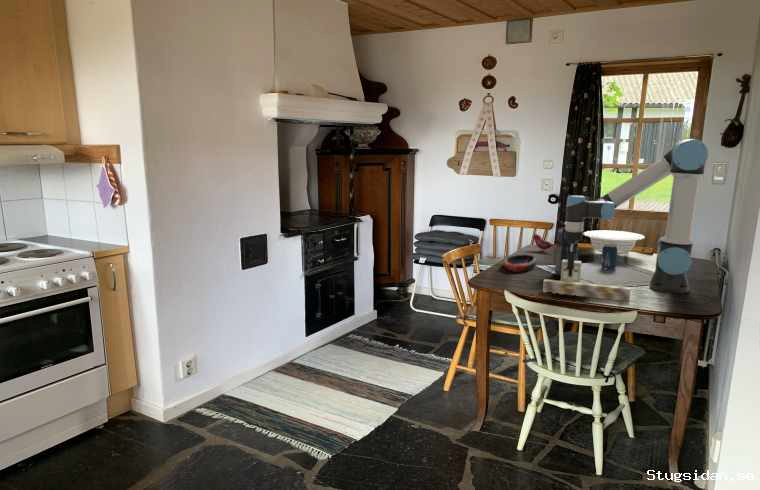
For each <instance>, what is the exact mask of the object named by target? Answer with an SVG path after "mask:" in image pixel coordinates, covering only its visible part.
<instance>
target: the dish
mask: <svg viewBox="0 0 760 490" xmlns="http://www.w3.org/2000/svg"><path fill="white" fill-rule="evenodd" d="M536 262H537V256H536V255H533V254H527V253H525V254H524V253H521V254H514V255H510V256H507V257H504V259H503V260H502V265H503V266H504V268H505V269H506V270H508V271H510V272H514V273H520V272H525V271H528V270H531V269H532V268H533V267H534V266H535V265H536Z"/></svg>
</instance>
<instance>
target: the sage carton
mask: <svg viewBox="0 0 760 490" xmlns="http://www.w3.org/2000/svg"><path fill="white" fill-rule="evenodd" d="M567 266H568V260H562V266H561V275H560V281H567V269H566V268H567ZM581 275H582V261H581V260H578V261H575V260H574V276H573V282H577V283H581Z"/></svg>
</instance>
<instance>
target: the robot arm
mask: <svg viewBox="0 0 760 490" xmlns="http://www.w3.org/2000/svg"><path fill="white" fill-rule="evenodd" d="M708 157H709V150H708V148H707V146H706V145H705V143H704V142H702V141H701V140H700V139H697V138H686V139H683V140H681V141H679V142H678V143H676V144H675V145H674V146H673V147H671V149H669V150H668V151H667V152H665V153H663V154H662V155H661V157H660V159H659V160H657V161H656V162H654V163H652V165H650V166H648V167H646V168H644V169H643V170H642V171H640V172H638V173H637V174H635V175H634V176H632V177H631V178H629V179H628V180H626V181H624V182H623V183H621V184H620V185H618V186H617V187H615V188H614V189H612V190H611V191H609V192H607V193H606V194H604V195H603V196H601V197H599V198H597V199H596V200H587V199H586V196H584V195H574V194H573V195H569V196H567V199H566V205H565V208H566V209H565V222H564V223H563V225H565V226H564V227H565V229H566V231H565V236H564V238H565V239H566V240H570V243H568V266H567V268H566V269H567V282H573V276H574V260H575V261H576V252H577V247H578V245H579V244H578V243H579V242H580V241H582V240H583V236H584V235H583V233H584V232H583V231H584V223H585V222H584V220H585V219H594V220H595V219H596V220H597V219H599V220H604V221H605V220H612V219H614V217H615V209H617V208H619V207H620V206H622V205H623V204H625V203H626V202H628V201H630V200H631V199H632V198H635V197H636V196H638V195H639V194H642V192H645V191H646V190H647V189H649V188H651V187H653V186H654V185H656V184H657V183H659V182H661V181H662V180H664V179H666V178H667V177H668V176H670V175H671V176H672V177H673V180H672V187H671V193H670V202H669V208H668V214H667V215H668V216H667V223H666V227H665V228H666V229H665V235H664V236H661V237H659V238H658V242H657V250H656V251H657V252H656V259H655V260H656V261H655V270H654V273H653V275H652V277H651V278H650V281H649V286H648V287H649V289H652V290H653V291H657V292H661V293H668V294H686V293H688V292H689V288H690V287H689V286H690V285H689V281H688V279H687V274H686V272H688V270H689V269H690V267H691V266H692V263H693V262H692V261H693V260H692V251H693V245H694V242H693V241H692V239H691V238H690V235H691V234H690V233H691V229H692V222H693V215H694V209H695V202H696V195H697V189H698V183H699V179H700V178H701V177H702V176H704V174H705V167H706V163H707V161H708ZM576 241H579V242H578V243H577V242H576Z"/></svg>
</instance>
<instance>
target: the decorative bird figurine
mask: <svg viewBox="0 0 760 490" xmlns="http://www.w3.org/2000/svg"><path fill="white" fill-rule="evenodd" d="M532 238H533V239H534V243H535V245H536V247H538V248H539V249H540V250H538V251H539V252H542V253H545V252H546V250H547V249H550V248H552V247H554V246H557V244H558V243H551V242H550V241H548V240H546V239H544V238H542V237H541V236H540V235H539V234H537V233H535V234H534V235H533V236H532Z"/></svg>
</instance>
